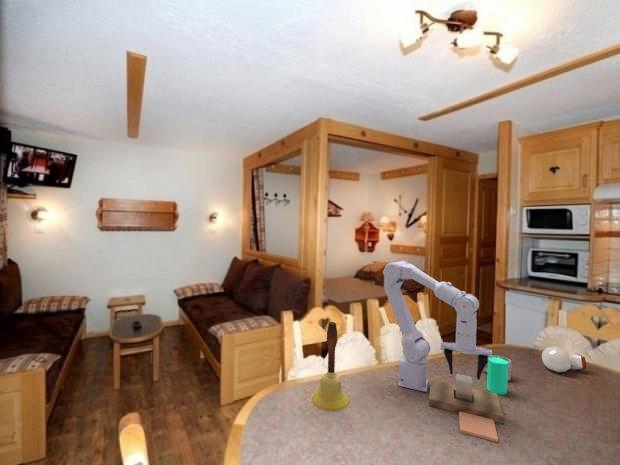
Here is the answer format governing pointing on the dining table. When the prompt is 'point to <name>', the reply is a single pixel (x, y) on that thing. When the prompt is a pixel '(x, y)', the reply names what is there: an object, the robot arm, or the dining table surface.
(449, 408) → the wooden board with hole
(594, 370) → the dining table surface
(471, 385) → the steel plug
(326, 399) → the handbell
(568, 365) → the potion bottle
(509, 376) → the mug
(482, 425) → the terracotta tile
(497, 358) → the candle
